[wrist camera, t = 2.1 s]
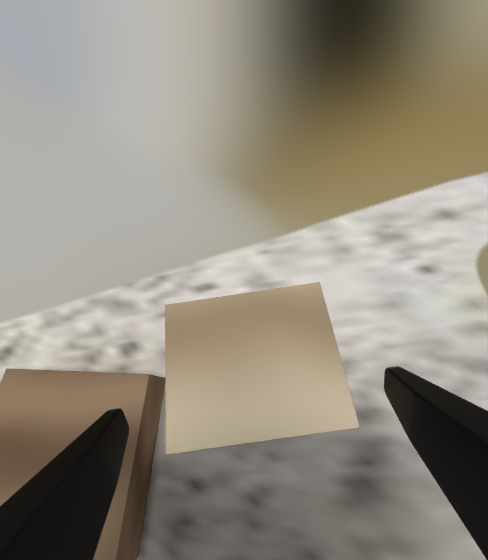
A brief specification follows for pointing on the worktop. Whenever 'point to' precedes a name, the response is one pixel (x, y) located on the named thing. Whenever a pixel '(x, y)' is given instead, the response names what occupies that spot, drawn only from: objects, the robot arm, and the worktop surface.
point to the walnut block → (69, 425)
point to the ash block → (253, 369)
